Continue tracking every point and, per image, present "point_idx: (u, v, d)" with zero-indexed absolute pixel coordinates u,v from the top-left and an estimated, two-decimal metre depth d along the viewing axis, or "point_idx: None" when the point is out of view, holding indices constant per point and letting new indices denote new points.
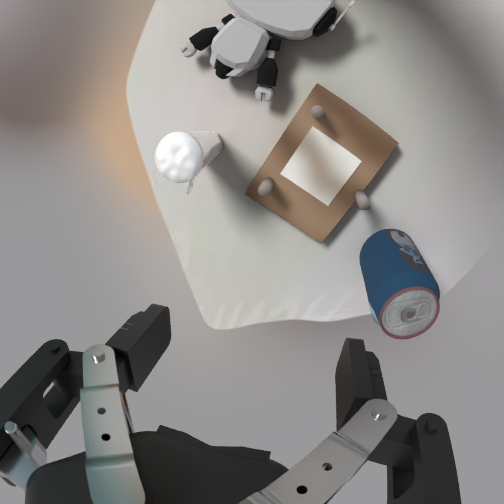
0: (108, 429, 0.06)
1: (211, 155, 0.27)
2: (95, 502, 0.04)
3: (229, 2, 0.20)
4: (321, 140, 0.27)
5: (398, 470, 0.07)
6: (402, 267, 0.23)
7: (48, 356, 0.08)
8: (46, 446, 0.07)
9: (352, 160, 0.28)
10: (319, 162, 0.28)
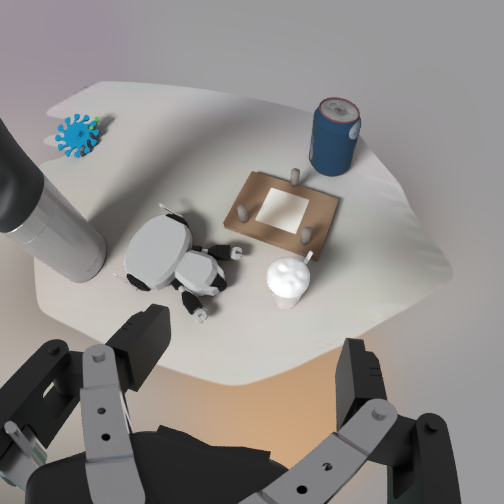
0: (108, 429, 0.06)
1: None
2: (95, 502, 0.04)
3: (161, 280, 0.37)
4: (264, 212, 0.42)
5: (398, 470, 0.07)
6: (317, 128, 0.38)
7: (48, 356, 0.08)
8: (46, 446, 0.07)
9: (272, 192, 0.43)
10: (279, 211, 0.42)
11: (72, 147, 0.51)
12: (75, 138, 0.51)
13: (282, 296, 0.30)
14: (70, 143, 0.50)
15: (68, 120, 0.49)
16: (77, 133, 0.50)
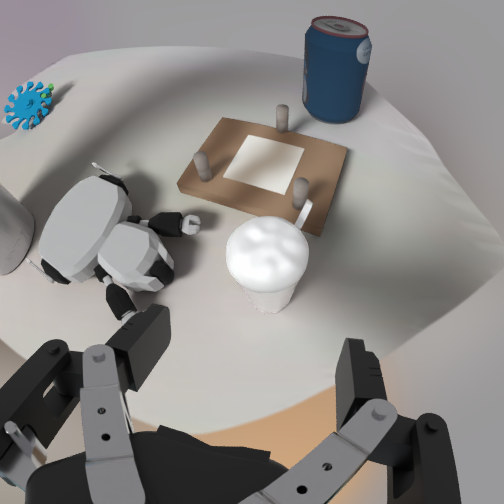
0: (108, 429, 0.06)
1: None
2: (95, 502, 0.04)
3: (79, 267, 0.22)
4: (236, 166, 0.27)
5: (398, 470, 0.07)
6: (311, 49, 0.23)
7: (48, 356, 0.08)
8: (46, 446, 0.07)
9: (249, 140, 0.29)
10: (260, 163, 0.27)
11: (20, 118, 0.36)
12: (25, 108, 0.36)
13: (255, 289, 0.15)
14: (19, 113, 0.36)
15: (20, 89, 0.35)
16: (27, 102, 0.36)
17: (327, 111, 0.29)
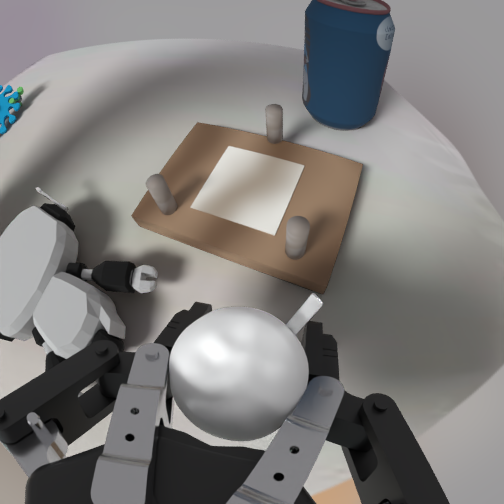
0: (135, 430, 0.06)
1: None
2: (93, 495, 0.04)
3: (16, 328, 0.15)
4: (210, 192, 0.20)
5: (356, 453, 0.08)
6: (313, 28, 0.16)
7: (94, 356, 0.09)
8: (71, 441, 0.07)
9: (229, 154, 0.21)
10: (242, 188, 0.20)
11: None
12: None
13: (215, 435, 0.08)
14: None
15: None
16: None
17: (335, 113, 0.22)
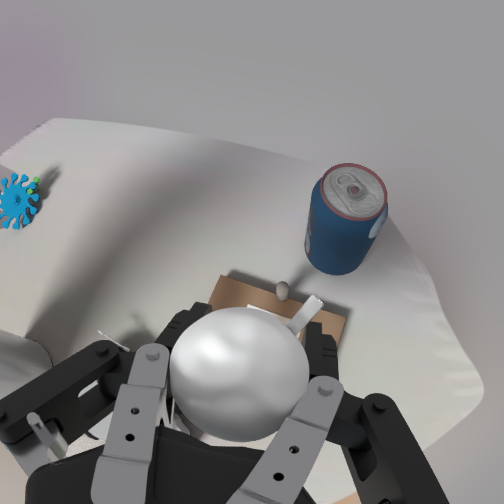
0: (135, 430, 0.06)
1: None
2: (93, 495, 0.04)
3: None
4: None
5: (355, 453, 0.08)
6: (317, 222, 0.25)
7: (95, 356, 0.09)
8: (72, 440, 0.07)
9: None
10: None
11: (10, 217, 0.38)
12: (12, 206, 0.38)
13: (216, 435, 0.08)
14: (8, 212, 0.38)
15: (4, 182, 0.37)
16: (13, 200, 0.38)
17: (330, 270, 0.30)
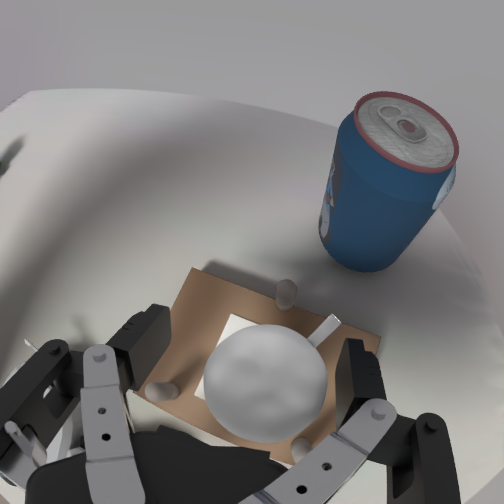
0: (108, 429, 0.06)
1: None
2: (95, 502, 0.04)
3: None
4: None
5: (397, 470, 0.07)
6: (349, 178, 0.14)
7: (49, 356, 0.08)
8: (46, 446, 0.07)
9: (232, 327, 0.19)
10: None
11: None
12: None
13: (247, 438, 0.09)
14: None
15: None
16: None
17: (358, 264, 0.19)
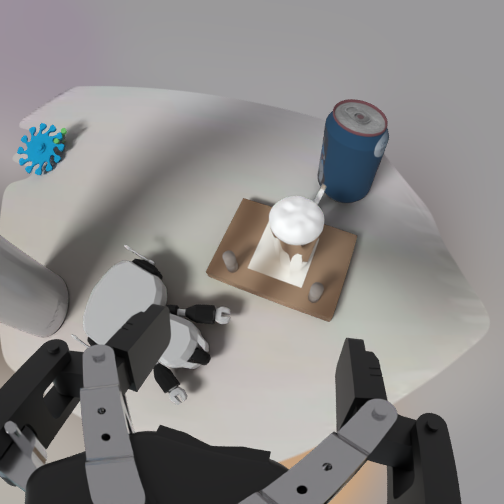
0: (108, 429, 0.06)
1: None
2: (95, 502, 0.04)
3: None
4: (259, 258, 0.32)
5: (398, 470, 0.07)
6: (331, 142, 0.28)
7: (48, 356, 0.08)
8: (46, 446, 0.07)
9: (269, 228, 0.33)
10: None
11: (33, 163, 0.41)
12: (37, 153, 0.41)
13: (290, 242, 0.23)
14: (32, 158, 0.41)
15: (33, 130, 0.40)
16: (39, 147, 0.41)
17: (341, 195, 0.34)
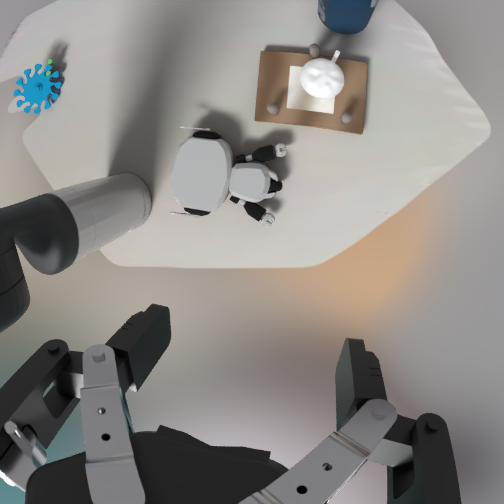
0: (108, 429, 0.06)
1: None
2: (95, 502, 0.04)
3: (220, 203, 0.39)
4: (293, 97, 0.34)
5: (398, 470, 0.07)
6: (329, 0, 0.22)
7: (48, 356, 0.08)
8: (46, 446, 0.07)
9: (293, 71, 0.33)
10: None
11: (39, 103, 0.38)
12: (37, 93, 0.37)
13: (323, 98, 0.26)
14: (35, 100, 0.38)
15: (20, 81, 0.33)
16: (36, 88, 0.36)
17: (345, 31, 0.29)
